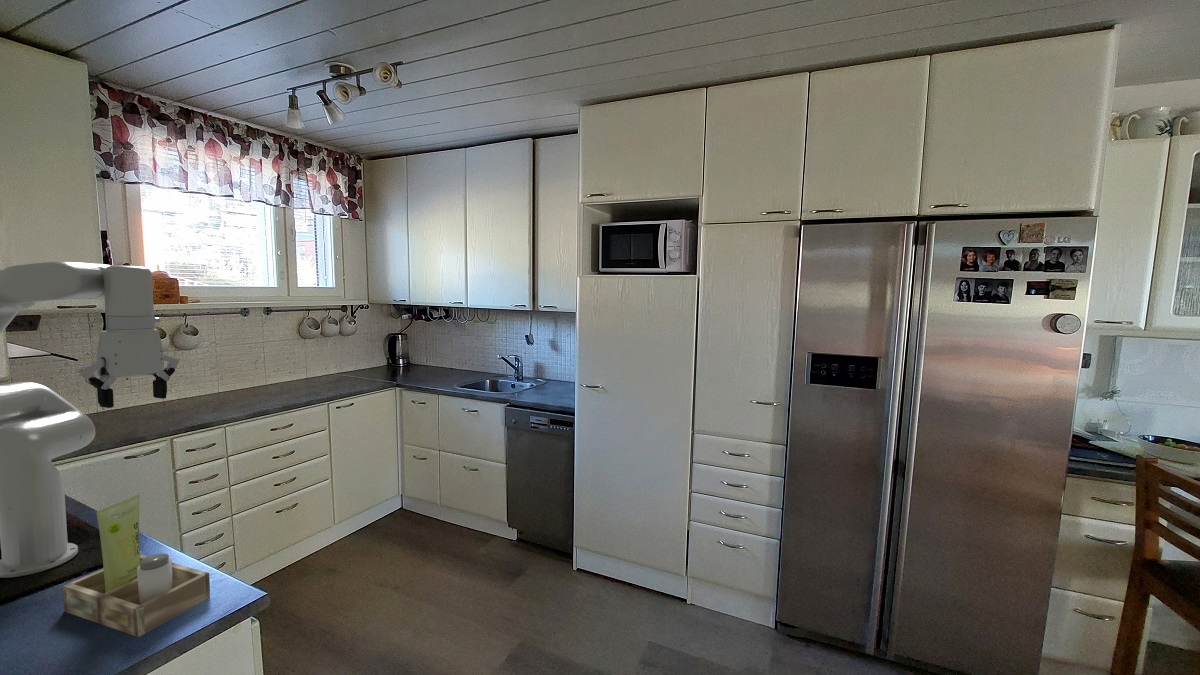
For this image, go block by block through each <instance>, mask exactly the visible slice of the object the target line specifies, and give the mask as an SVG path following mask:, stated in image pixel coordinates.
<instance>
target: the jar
mask: <svg viewBox="0 0 1200 675" xmlns="http://www.w3.org/2000/svg"><path fill="white" fill-rule="evenodd" d="M148 556H149V557H146V558H144V559H143V560H141V561H140V565H139V566H138V568H137V576H138V596H139V605H141V604H143V603H145V602H147V601H149V600H151V599H153V598H155V597H157V596H159V595H161V594H163V593H165V592H167V591H169V590H171V589H173V581H172V563H173V562H172V561H173V560H172V558H170V557H169V554H168V553H156V554H151V555H148Z"/></svg>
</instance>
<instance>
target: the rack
mask: <svg viewBox="0 0 1200 675" xmlns="http://www.w3.org/2000/svg"><path fill="white" fill-rule="evenodd" d="M149 556H150V555H145V554H142V553H140V561H141V560H143V559H144V558H146V557H149ZM172 581H173V589H171V590H169V591H167V592H165V593H163V594H161V595H159V596H157V597H155V598H153V599H151V600H149V601H147V602H145V603H143V604H141V605H139V596H138V578H137V579H135V580H133V581H130V582H128V583H126V584H124V585H122V586H119V587H117V588H115V589H113V590H111V591H109V592H106V593H105V579H104V568H102V569H99V570H96V571H94V572H92V573H90V574H88V575H85V576H83V577H80V578H78V579H75V580H73V581H71V582H69V583H65V585H62V595H63V598H62V599H63V609H64V610H63V611H64V612H65V613H68V614H69V615H70V614H71V615H73V616H76V617H79V618H82V619H86V620H87V621H90V622H94V623H95V624H99V625H102V626H106V627H108V628H110V629H114V630H116V631H119V632H123V633H125V634H128V635H131V636H134V637H137V638H139V637H141V636H143V635H144V634H147V633H149V632H151V631H152V630H154V629H155V628H157V627H159V626H162V625H163V624H164V623H166V622H168V621H170V620H172V619H173V618H175V617H177V616H179V615H181V614H183V613H185V612H186V611H188V610H190V609H191V608H193V607H195V606H197V605H198V604H200V603H203V602H204V601H206V600H208V599H210V598H211V583H210V572H207V571H204V570H200V569H196V568H193V567H189V566H186V565H185V566H184V565H181V564H179V563H174V562H172Z"/></svg>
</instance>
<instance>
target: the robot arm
mask: <svg viewBox="0 0 1200 675" xmlns="http://www.w3.org/2000/svg"><path fill="white" fill-rule="evenodd" d="M153 283H154V282H153V273H152V271H151V270H150V269H149V268H148V267H146V266H137V265H115V264H113V265H110V264H105V263H104V264H103V263H91V262H76V261H45V262H37V263H36V262H35V263H33V262H32V263H25V264H16V265H11V266H10V265H9V266H8V267H5V268H3V269H0V335H1V334H2V333H3V332H4V330H5V329H6V328H7V327H8V326H9V324H10V323H11V322H12V321H13V320H14V318H15V317H16V316H17V315H18V313H19V312H20V310H25V309H28V308H31V307H32V306H35V304H36V303H37V302H47V301H60V300H99V299H101V300H103V299H104V310H105V311H104V314H105V330H101V331H100V333H99V337H98V343H97V348H96V349H97V350H96V360H95V361H94V362H92V363H89V364H88V365H86V366H83V367H82V368H80V369H79V370H78V373H79V374H80V376H82V378H83V379H84V381H85V382H86V383H87V384H89V385H91V386H92V387H93V388H94V389H96V392H97V394H96V395H97V403H98V405H99V406H100V407H101V408H104V409H105V408H106V409H111V408H113V407H115V405H114V404H115V402H114V389H113V388H110V387H111V386H112V385H113V383H114V382H116V381H117V379H128V378H134V377H143V376H149V375H150V376H152V377H153V378H154V379H153V380H152V394H153V396H152V397H153V398H156V399H161V400H164V399H167V393H168V382H167V381H169V380H170V378H171V376H173V374H174V373H175V371H176V368H177V367H178V365H179V363H180V360H179V359H177V358H175V357H172V356H169V355H166V354H164V348H163V344H162V343H163V342H162V340H161V336H160V332H159V330H158V329H156V328H155V327H156V324H160V323H161V319H160V317H155V310H154V291H153V290H154V287H153V286H154V284H153ZM165 363H167V364H166V366H165ZM94 372H96V374H97V376H99V378H98V377H96V376H95V375H94V374H95V373H94ZM95 436H96V427H95V425H94V422H93V421H92V419H91V418H90V417H89V416H88V415H87V414H86V413H85V412H83V411H82V410H80V409H79V408H78V407H76V406H75V405H73V404H72V403H71V402H70V401H68V400H67V399H66V398H64V397H63V396H62V395H60V394H58V393H57V392H56V391H54V390H53V389H52V388H50V387H48V386H46V385H43V384H41V383H38V382H34V381H33V382H32V381H18V382H11V383H6V384H0V550H1V551H0V552H1V559H0V578H3V579H5V578H8V579H9V578H17V577H22V576H23V577H24V576H28V575H33V574H37V573H40V572H43V571H48V570H51V569H52V568H55V567H57V566H60V565H62V564H65V563H67V562H68V561H70V560H72V559H73V558H74V557H75V556H76V555H78V552H79V546H78V545H77V544H75V543H72V542H68V541H69V540H68V532H67V531H68V529H67V526H68V525H67V513H66V498H65V497H66V495H65V485H64V478H63V475H62V473H61V471H60V470H59V469H58V468H57V467H56V466H55V465H54V463H53V462H52V460H53V459H56V458H57V457H58V458H59V457H61V456H64V455H67V454H70V453H73V452H76V451H78V450H80V449H83V448H84V447H87V446H88V445H89V444H90V443H92V441H93V440H94V439H95Z"/></svg>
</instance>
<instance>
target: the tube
mask: <svg viewBox="0 0 1200 675" xmlns="http://www.w3.org/2000/svg"><path fill="white" fill-rule="evenodd" d="M96 518H97V523H98V530H99V539H100V547H101V548H100V549H101V555H102V556H101V557H102V565H103V569H104V579H105V593H106V592H109V591H111V590H113V589H115V588H117V587H119V586H122V585H124V584H126V583H128V582H130V581H133V580H135V579H137V578H138V576H137V568H138V566H139V565H140V554H141V552H140V551H141V550H140V548H141V546H140V494H139V493H137V494H136V495H133V496H131V497H129V498H125V499H124V500H120V501H119V502H116V503H114V504H110V505H108V506H105V507H104V508H100V509H97V511H96Z"/></svg>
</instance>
